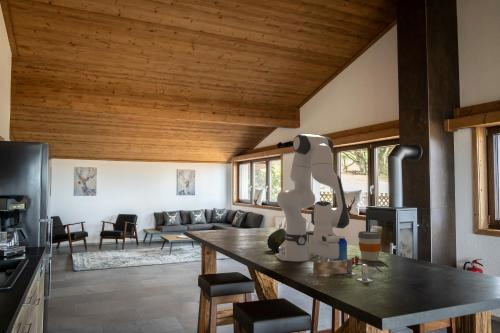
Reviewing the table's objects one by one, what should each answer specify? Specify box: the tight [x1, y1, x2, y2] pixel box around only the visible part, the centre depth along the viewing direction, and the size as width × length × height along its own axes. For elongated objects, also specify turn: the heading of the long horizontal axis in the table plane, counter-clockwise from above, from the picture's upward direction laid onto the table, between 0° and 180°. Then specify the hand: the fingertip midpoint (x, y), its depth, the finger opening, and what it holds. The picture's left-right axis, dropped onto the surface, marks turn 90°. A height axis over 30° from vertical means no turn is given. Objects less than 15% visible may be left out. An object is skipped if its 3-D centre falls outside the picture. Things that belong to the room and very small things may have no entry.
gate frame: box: [340, 263, 374, 284], centre depth 172 cm, size 18×6×7 cm, turn 22°
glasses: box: [351, 255, 389, 273], centre depth 193 cm, size 14×16×5 cm
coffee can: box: [306, 230, 319, 259], centre depth 223 cm, size 10×10×14 cm
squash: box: [266, 228, 287, 253], centre depth 239 cm, size 14×15×15 cm
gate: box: [312, 258, 353, 277], centre depth 175 cm, size 20×3×6 cm, turn 112°
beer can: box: [329, 235, 348, 261], centre depth 188 cm, size 8×8×16 cm
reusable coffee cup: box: [357, 230, 382, 262], centre depth 214 cm, size 13×13×15 cm
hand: (323, 265), depth 178 cm, fingers closed
